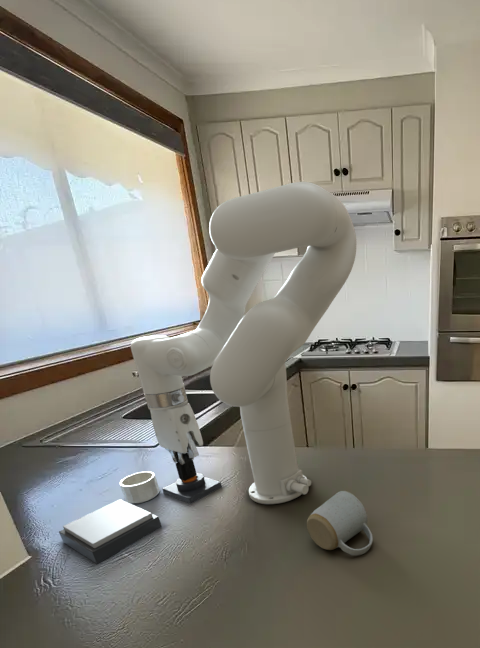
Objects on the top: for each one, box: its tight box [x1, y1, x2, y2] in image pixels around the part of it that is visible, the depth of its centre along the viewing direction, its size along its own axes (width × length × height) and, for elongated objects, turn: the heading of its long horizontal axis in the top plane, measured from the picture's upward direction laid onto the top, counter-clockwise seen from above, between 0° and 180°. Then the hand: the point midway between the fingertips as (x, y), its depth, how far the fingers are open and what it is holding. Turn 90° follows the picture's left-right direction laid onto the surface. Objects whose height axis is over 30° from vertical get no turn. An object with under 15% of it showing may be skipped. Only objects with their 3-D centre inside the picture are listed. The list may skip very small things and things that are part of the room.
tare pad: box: [162, 472, 222, 505], centre depth 94 cm, size 10×8×3 cm
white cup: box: [119, 470, 161, 504], centre depth 92 cm, size 7×7×5 cm
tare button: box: [183, 476, 197, 483], centre depth 93 cm, size 3×3×2 cm
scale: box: [58, 498, 162, 565], centre depth 79 cm, size 13×12×4 cm
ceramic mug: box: [306, 490, 374, 556], centre depth 71 cm, size 11×8×8 cm
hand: (188, 477), depth 93 cm, fingers closed
